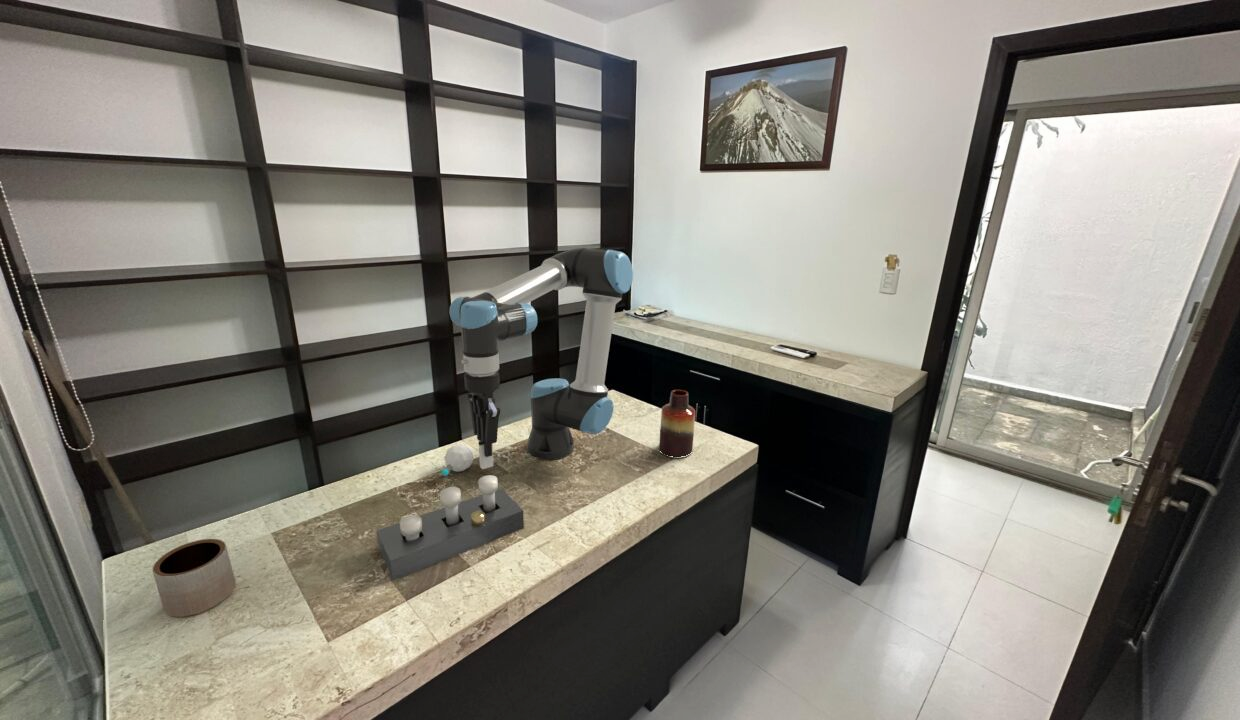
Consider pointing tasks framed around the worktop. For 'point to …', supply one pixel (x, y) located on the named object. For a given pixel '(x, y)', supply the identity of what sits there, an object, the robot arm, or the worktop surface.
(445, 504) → the knob mid
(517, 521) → the mount
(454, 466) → the perfume bottle
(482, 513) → the brass dial
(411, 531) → the knob
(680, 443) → the vase
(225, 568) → the planter
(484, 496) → the knob
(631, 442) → the worktop surface
